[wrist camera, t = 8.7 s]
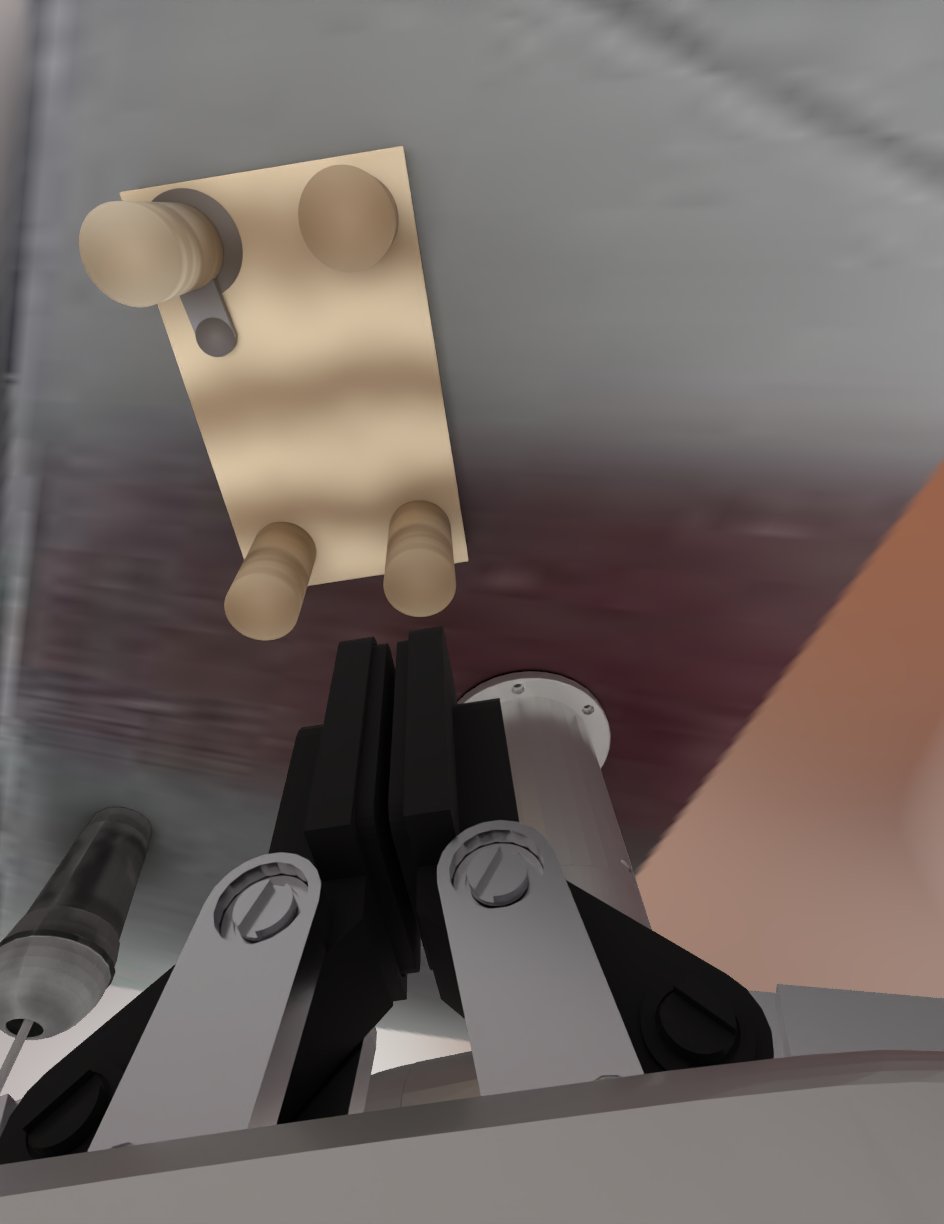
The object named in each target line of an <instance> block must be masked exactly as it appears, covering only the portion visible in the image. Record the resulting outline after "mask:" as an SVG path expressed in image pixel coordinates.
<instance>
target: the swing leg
mask: <svg viewBox="0 0 944 1224" xmlns="http://www.w3.org/2000/svg"><path fill="white" fill-rule="evenodd" d="M79 250H80V255H81V259H82V262H83V265H84V267H85V269H86V271H87V273H88V275H89V276H90V278H91V279H92V281H93V282H94V283H95V284H96V286H97V287H98V288H99V289H100V290H101V291H102V292H104V293H105V294H106V295H107V296H109V297H110V298H112V299H113V300H115V301H117V302H119V303H122V304H124V305H128V306H132V307H148V306H152V305H155V304H158V303H161V302H163V301H166V300H169V299H171V298H174V297H177V296H180V298H181V301H182V303H183V306H184V308H185V311H186V313H187V316H188V318H189V321H190V323H191V325H192V328H193V330H194V333H195V336H196V341H197V344H198V345H199V347H200V348H201V350H202V351H203V352H205V353H206V354H208V355H210V356H212V357H223V356H225V355H227V354H228V353H230V352H231V351H232V350H233V349H234V348H235V346H236V344H237V332H236V330H235V327H234V324H233V322H232V319H231V316H230V314H229V311H228V308H227V306H226V303H225V301H224V298H223V295H222V293H221V290H220V287H219V285H218V282H217V279H216V277H217V275H218V274H219V272H220V269H221V266H222V262H223V246H222V241H221V238H220V236H219V233H218V231H217V229H216V227H215V226H214V224H213V223H212V222H211V220H210V219H209V218H208V217H207V216H206V215H205V214H204V213H202V212H201V211H200V210H198V209H197V208H195V207H193V206H190V205H188V204H184V203H178V202H135V201H112V202H107V203H104V204H101V205H99V206H97V207H96V208H94V209H93V210H92V211H91V212H90V213H89V214H88V215H87V216H86V218H85V220H84V221H83V224H82V226H81V230H80V234H79Z"/></svg>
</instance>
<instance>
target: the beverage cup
mask: <svg viewBox="0 0 944 1224" xmlns="http://www.w3.org/2000/svg"><path fill="white" fill-rule="evenodd" d="M151 834H152V830H151V825H150V824H149V822H148V820H147V819H146V818H145V817H143V816H142V815H141V814H139V813H137V812H135V811H133V810H131V809H127V808H122V807H111V808H106V809H103V810H101V811H99V812H97V813H96V814H95V816H94V817H93V818H92V820H91V822H90V823H89V824H88V825H87V827H86V828H85V829H84V830H83V831H82V832H81V834H80V835H79V837H78V838H77V840H76V841H75V843H74V844H73V846H72V847H71V848H70V850H69V851H68V853H67V854H66V856H65V857H64V859H63V860H62V862H61V863H60V865H59V866H58V868H57V869H56V871H55V872H54V874H53V875H52V876H51V878H50V879H49V881H48V882H47V884H46V885H45V887H44V888H43V890H42V891H41V893H40V894H39V896H38V897H37V899H36V900H35V901H34V903H33V904H32V906H31V907H30V909H29V910H28V912H27V913H26V915H25V916H24V917H23V918H22V919H21V920H20V921H19V922H18V923H17V924H16V926H15V927H14V928H13V929H12V930H11V931H10V933H9V934H8V935H7V936H6V937H5V939H3V940H2V941H1V942H0V1030H2V1031H3V1032H4V1033H6V1034H8V1035H9V1036H12V1037H15V1040H14V1042H13V1044H12V1047H11V1049H10V1051H9V1053H8V1055H7V1057H6V1059H5V1061H4V1063H3V1065H2V1067H1V1069H0V1092H1V1090H2V1088H3V1086H4V1084H5V1082H6V1080H7V1077H8V1075H9V1073H10V1071H11V1069H12V1066H13V1064H14V1063H15V1060H16V1058H17V1056H18V1054H19V1052H20V1050H21V1048H22V1045H23V1043H24V1041H25V1040H38V1039H44V1038H49V1037H52V1036H55V1035H57V1034H59V1033H62V1032H64V1031H66V1030H68V1029H70V1028H71V1027H73V1026H75V1025H76V1024H77V1023H78V1022H79V1021H81V1020H82V1019H83V1018H84V1017H85V1016H86V1015H87V1014H88V1013H89V1012H90V1011H91V1010H92V1009H93V1008H94V1007H95V1006H96V1005H97V1003H98V1002H99V1000H100V999H101V997H102V996H103V994H104V992H105V990H106V989H107V988H108V986H109V985H110V984H111V982H112V980H113V977H114V974H115V968H114V967H115V964H116V961H117V956H118V951H119V946H120V942H119V939H120V936H121V933H122V929H123V926H124V923H125V920H126V917H127V914H128V910H129V907H130V904H131V901H132V898H133V894H134V891H135V888H136V885H137V882H138V878H139V875H140V872H141V869H142V866H143V862H144V859H145V856H146V853H147V850H148V843H149V839H150V837H151Z"/></svg>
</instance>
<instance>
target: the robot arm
mask: <svg viewBox="0 0 944 1224" xmlns="http://www.w3.org/2000/svg"><path fill="white" fill-rule="evenodd" d="M610 737H611V734H610V729H609V723H608V720H607V718H606V715H605V712H604V710H603V708H602V707H601V705H600V703H599V702H598V700H597V699H596V698H595V697H594V696H593V695H592V694H591V693H590V692H589V691H588V690H587V689H586V688H585V687H583V686H581V685H580V684H578V683H577V682H575V681H573V680H571V679H568V678H566V677H563V676H561V675H556V674H552V673H547V672H532V671H526V672H517V673H510V674H506V675H503V676H499V677H495V678H493V679H491V680H489V681H486V682H484V683H482V684H480V685H478V686H477V687H475V688H474V689H472V690H471V691H469V692H468V693H466V694H465V695H464V696H463V697H462V698H461V699H460V700H459V701H458V702H457V698H456V692H455V687H454V682H453V676H452V671H451V666H450V661H449V655H448V650H447V645H446V639H445V634H444V630H443V627H442V626H440V627H434V628H427V629H421V630H414V631H410V632H409V640H407V641H400V642H397V655H396V671H395V667H394V663H393V658H392V654H391V650H390V647H389V645H388V643H387V644H381V645H377V642H376V640H375V638H374V637H368V638H362V639H355V640H349V641H342V642H340V643H339V646H338V651H337V656H336V662H335V667H334V672H333V677H332V683H331V688H330V693H329V699H328V704H327V709H326V714H325V720H324V724H322V725H316V726H309V727H303V728H301V729H300V730H299V731H298V734H297V737H296V740H295V745H294V749H293V753H292V757H291V762H290V766H289V770H288V774H287V778H286V783H285V787H284V791H283V795H282V799H281V804H280V808H279V812H278V816H277V821H276V825H275V829H274V833H273V837H272V842H271V846H270V850H269V854H266V855H262V856H259V857H257V858H254V859H252V860H249V861H246V862H245V863H243V864H242V865H240V866H238V867H237V868H235V869H234V870H232V871H231V872H229V873H228V874H227V875H226V876H225V877H224V878H223V879H222V880H221V881H220V882H219V883H218V884H217V885H216V886H215V887H214V889H213V891H212V892H211V894H210V895H209V897H208V898H207V900H206V901H205V903H204V906H203V908H202V910H201V912H200V914H199V916H198V918H197V920H196V922H195V925H194V927H193V929H192V931H191V933H190V935H189V937H188V939H187V942H186V944H185V946H184V948H183V950H182V952H181V954H180V956H179V958H178V961H177V963H176V964H175V965H174V966H173V967H172V968H171V969H169V970H168V971H167V972H166V973H165V974H163V975H162V976H161V977H160V978H159V979H157V980H156V981H155V982H154V983H153V984H151V985H150V986H149V987H148V988H147V989H146V990H144V991H143V992H142V993H141V994H140V995H138V996H137V997H136V998H135V999H134V1000H132V1001H131V1002H130V1003H129V1004H128V1005H126V1006H125V1007H124V1008H123V1009H122V1010H121V1011H119V1012H118V1013H117V1014H116V1015H114V1016H113V1017H112V1018H111V1019H110V1020H109V1021H107V1022H106V1023H105V1024H104V1025H103V1026H101V1027H100V1028H99V1029H98V1030H97V1031H95V1032H94V1033H93V1034H92V1035H91V1036H89V1037H88V1038H87V1039H86V1040H85V1041H83V1042H82V1043H81V1044H80V1045H79V1046H78V1047H76V1048H75V1049H74V1050H73V1051H72V1052H70V1053H69V1054H68V1055H67V1056H66V1057H64V1058H63V1059H62V1060H61V1061H60V1062H58V1063H57V1064H56V1065H55V1066H54V1067H53V1068H51V1069H50V1070H49V1071H48V1072H47V1073H46V1074H44V1075H43V1076H42V1077H41V1079H40V1080H39V1081H38V1082H37V1083H36V1084H34V1086H32V1087H31V1088H30V1089H29V1090H28V1091H27V1093H26V1094H25V1095H24V1097H23V1098H22V1099H20V1100H17V1101H14V1099H13V1098H12V1097H11V1096H10V1095H9V1094H6V1095H3V1096H0V1224H944V998H933V997H920V996H910V995H898V994H887V993H875V992H864V991H852V990H841V989H829V988H818V987H806V986H794V985H783V984H777V989H776V993H771V992H759V991H748V990H747V989H746V988H744V987H743V986H742V985H740V984H739V983H738V982H737V981H735V980H734V979H733V978H731V977H730V976H729V975H727V974H726V973H724V972H722V971H720V970H719V969H717V968H715V967H714V966H712V965H710V964H709V963H707V962H705V961H703V960H702V959H700V958H698V957H697V956H695V955H693V954H692V953H690V952H688V951H686V950H685V949H683V948H681V947H680V946H678V945H676V944H675V943H673V942H671V941H669V940H668V939H666V938H664V937H663V936H661V935H659V934H657V933H656V932H654V931H652V929H651V926H650V923H649V920H648V917H647V914H646V910H645V907H644V904H643V902H642V898H641V895H640V892H639V889H638V885H637V882H636V879H635V876H634V873H633V870H632V866H631V863H630V860H629V857H628V854H627V851H626V848H625V844H624V841H623V838H622V835H621V832H620V829H619V826H618V822H617V819H616V816H615V813H614V810H613V807H612V804H611V800H610V797H609V794H608V791H607V788H606V785H605V782H604V778H603V775H602V772H601V768H602V766H603V764H604V762H605V761H606V758H607V755H608V752H609V749H610ZM420 936H421V940H422V943H423V947H424V950H425V954H426V957H427V961H428V964H429V968H430V970H433V972H434V975H435V979H436V983H437V986H438V990H439V993H440V997H441V999H442V1000H443V1001H444V1002H445V1003H446V1004H448V1005H449V1006H450V1007H451V1008H453V1009H454V1010H455V1011H456V1012H457V1013H459V1014H460V1015H461V1016H462V1017H463V1018H465V1020H466V1025H467V1030H468V1035H469V1040H470V1044H471V1050H472V1051H470V1052H465V1053H460V1054H455V1055H450V1056H445V1057H440V1058H435V1059H430V1060H425V1061H421V1062H416V1063H414V1064H409V1065H404V1066H400V1067H396V1068H393V1069H389V1070H385V1071H382V1072H378V1073H376V1074H373V1075H371V1071H372V1065H373V1060H374V1055H375V1050H376V1034H377V1032H376V1028H375V1025H376V1024H377V1023H378V1022H379V1021H380V1020H381V1019H382V1017H383V1016H384V1015H385V1014H386V1013H387V1012H388V1011H389V1010H390V1009H391V1008H392V1006H393V1001H398V1000H405V999H407V974H409V973H416V972H419V971H420Z"/></svg>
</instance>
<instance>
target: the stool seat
mask: <svg viewBox="0 0 944 1224" xmlns="http://www.w3.org/2000/svg"><path fill="white" fill-rule="evenodd" d="M120 195H121V198H122V201H135V202H178V203H184V204H188V205H190V206H193V207H195V208H197V209H198V210H200V211H201V212H202V213H204V214H205V215H206V216H207V217H208V218H209V219H210V220H211V222H212V223H213V224H214V226H215V227H216V229H217V231H218V233H219V236H220V238H221V241H222V246H223V262H222V266H221V269H220V272H219V274H218V275H217V277H216V279H217V282H218V285H219V287H220V290H221V293H222V295H223V298H224V301H225V303H226V306H227V308H228V311H229V314H230V316H231V319H232V322H233V324H234V327H235V330H236V332H237V344H236V346H235V348H234V349H233V350H232V351H231V352H230V353H228V354H227V355H225V356H223V357H212V356H210V355H208V354H206V353H205V352H203V351H202V350H201V348H200V347H199V345H198V344H197V341H196V336H195V333H194V330H193V328H192V325H191V323H190V321H189V318H188V316H187V313H186V311H185V308H184V306H183V303H182V301H181V298H180V296H177V297H174V298H171V299H169V300H166V301H163V302H161V303H158V307H159V310H160V313H161V316H162V319H163V322H164V325H165V328H166V331H167V334H168V337H169V339H170V342H171V345H172V348H173V351H174V354H175V357H176V360H177V363H178V366H179V369H180V372H181V375H182V378H183V381H184V384H185V387H186V390H187V393H188V395H189V398H190V401H191V404H192V407H193V410H194V413H195V416H196V419H197V422H198V425H199V428H200V431H201V434H202V437H203V440H204V443H205V446H206V448H207V451H208V454H209V457H210V460H211V463H212V466H213V469H214V472H215V475H216V478H217V481H218V484H219V487H220V490H221V493H222V496H223V499H224V501H225V504H226V507H227V510H228V513H229V516H230V519H231V522H232V525H233V528H234V531H235V534H236V537H237V540H238V543H239V546H240V549H241V552H242V555H243V557H244V562H243V563H242V565H241V567H240V569H239V571H238V573H237V575H236V577H235V579H234V581H233V583H232V585H231V587H230V589H229V591H228V593H227V595H226V598H225V603H224V608H225V613H226V616H227V618H228V620H229V622H230V623H231V624H232V626H233V627H234V628H235V629H236V630H238V631H239V632H240V633H242V634H243V635H245V636H248V637H250V638H253V639H257V640H273V639H277V638H280V637H282V636H284V635H286V634H287V633H289V632H290V631H291V630H292V629H293V627H294V626H295V624H296V622H297V619H298V616H299V612H300V609H301V606H302V603H303V599H304V596H305V593H306V589H307V586H310V585H316V584H323V583H329V582H336V581H342V580H349V579H355V578H362V577H368V576H375V575H381V574H384V582H383V587H384V592H385V595H386V597H387V599H388V601H389V602H390V604H391V605H392V606H393V607H394V608H395V609H397V610H398V611H400V612H402V613H404V614H407V615H410V616H416V617H424V616H430V615H433V614H436V613H438V612H440V611H441V610H443V609H444V608H445V607H446V606H447V605H448V604H449V603H450V602H451V600H452V598H453V597H454V594H455V590H456V579H455V568H454V563H460V562H466V561H468V553H467V546H466V539H465V533H464V526H463V520H462V514H461V507H460V501H459V495H458V489H457V482H456V476H455V470H454V463H453V457H452V451H451V444H450V438H449V432H448V425H447V419H446V413H445V406H444V400H443V394H442V387H441V381H440V375H439V368H438V362H437V356H436V349H435V343H434V337H433V330H432V324H431V318H430V311H429V305H428V299H427V292H426V286H425V280H424V273H423V267H422V261H421V254H420V248H419V242H418V235H417V229H416V223H415V216H414V210H413V204H412V198H411V191H410V185H409V179H408V172H407V166H406V160H405V153H404V148H403V146H399V147H393V148H387V149H381V150H375V151H369V152H363V153H357V154H350V155H344V156H338V157H332V158H326V159H320V160H314V161H308V162H302V163H296V164H289V165H283V166H277V167H271V168H265V169H259V170H253V171H247V172H241V173H234V174H228V175H222V176H216V177H210V178H204V179H198V180H192V181H186V182H180V183H173V184H167V185H161V186H155V187H149V188H143V189H137V190H131V191H125V192H120Z"/></svg>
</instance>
